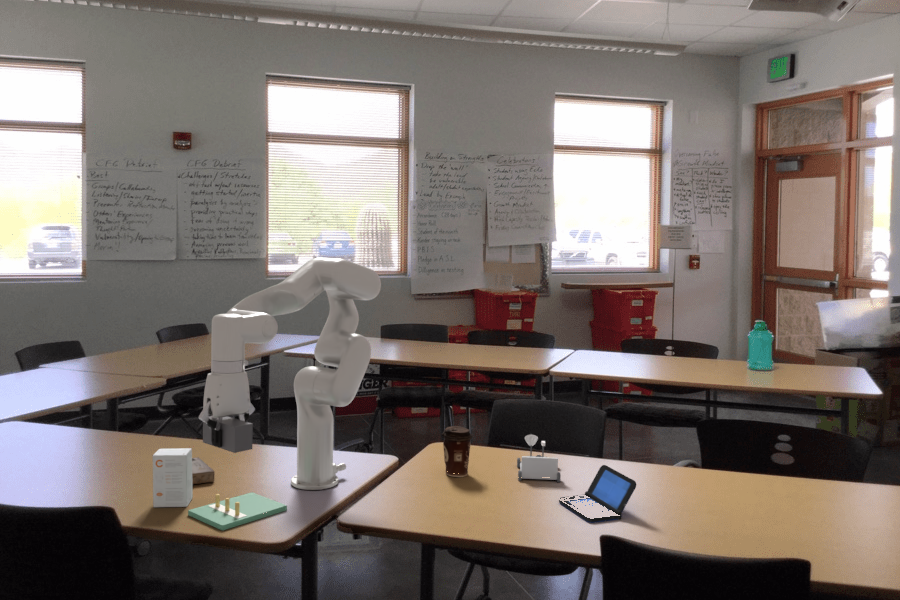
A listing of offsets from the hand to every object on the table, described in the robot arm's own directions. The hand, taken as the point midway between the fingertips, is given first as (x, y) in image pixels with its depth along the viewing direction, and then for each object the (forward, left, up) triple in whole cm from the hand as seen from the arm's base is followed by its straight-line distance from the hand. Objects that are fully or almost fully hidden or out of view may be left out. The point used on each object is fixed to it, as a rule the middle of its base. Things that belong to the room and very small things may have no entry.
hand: (227, 443), depth 182 cm
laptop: (-65, +62, -18) cm, 91 cm away
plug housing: (0, 0, -1) cm, 1 cm away
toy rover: (-81, +34, -18) cm, 89 cm away
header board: (-3, 0, -17) cm, 18 cm away
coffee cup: (-63, +18, -18) cm, 68 cm away
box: (-10, -33, -18) cm, 39 cm away
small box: (+4, -17, -18) cm, 25 cm away
